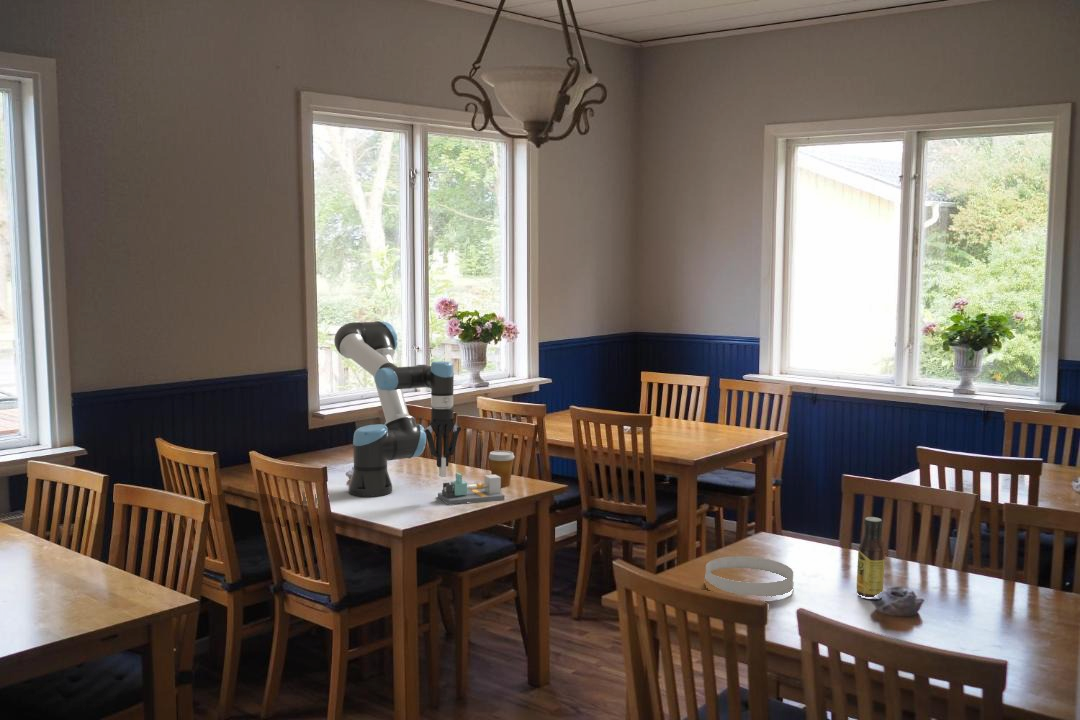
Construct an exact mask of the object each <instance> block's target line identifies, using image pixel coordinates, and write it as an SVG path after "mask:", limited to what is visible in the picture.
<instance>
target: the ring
mask: <svg viewBox="0 0 1080 720" xmlns="http://www.w3.org/2000/svg"><path fill="white" fill-rule="evenodd" d="M724 568H751V569H760V570H765V571H770V572H772V573H776V574H779V575H781V576H783V577H785V578H787V579H785V580H783V581H777V582H769V583H750V582H741V581H734V580H729V579H725V578H722V577H719V576H716V575H714V574H712V573H711V571H713V570H717V569H724ZM705 579H706V581H708V582H709V583H710V584H712V585H714V586H715V587H717V588H719V589H721V590H723V591H726V592H730V593H735V594H737V595H756V596H766V597H767V596H771V597H772V596H776V595H783V594H785V593H788V592H790V591H791V590H792V589H793V590H794V588H793V586H794V585H795V584H794V571H793V569H792V568H791V567H790V566H789V565H787V564H785V563H782V562H779V561H775V560H772V559H768V558H763V557H762V558H761V557H756V556H742V555H741V556H739V555H738V556H737V555H736V556H723V557H718V558H715V559H711V560H710V561H708V562H707V563H706V565H705V576H704V580H705ZM794 587H795V586H794Z"/></svg>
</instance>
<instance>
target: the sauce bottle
mask: <svg viewBox="0 0 1080 720" xmlns="http://www.w3.org/2000/svg"><path fill="white" fill-rule="evenodd" d="M863 522H864V525H865V526H864V533H863V537H862V539H861V542H860V544H859V546H858V549H857V572H856V573H857V574H856V594H857V593H858V594H859V595H862V596H865V597H874V596H875V595H877V594H879V593H880V592H882V591H883V592H884V582H885V581H884V580H885V578H884V577H885V562H886V561H885V559H886V558H885V551H886V549H885V548H886V547H885V544H884V541H883V540H882V539H881V536H882V533H881V531H882V525H883V520H882V518H879V517H875V516H867V517H865V518H864V521H863Z"/></svg>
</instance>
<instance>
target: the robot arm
mask: <svg viewBox="0 0 1080 720" xmlns="http://www.w3.org/2000/svg"><path fill="white" fill-rule="evenodd" d="M333 341H334V346H335V349H336V350H337V352H338V353H339V354H340V355H341V356H342V357H343V358H345V359H351V360H352V361H354V362H355V363H356V364H357V365H359V367H361V368H362V369H364V371H366V372H367V373H369V374H370V375H371V376H373V380H374V384H375V388H376V391H377V394H378V398H379V401H380V404H381V407H382V412H383V414H384V419H385V423H384V424H381V423H378V424H369V425H363V426H361V427H359V428H357V429H356V430H354V433H353V439H352V440H353V441H352V445H353V472H352V476H351V478H350V482H349V484H348V494H350V495H351V496H355V497H366V498H367V497H368V498H369V497H370V498H371V497H373V498H374V497H382V496H386V495H390V494H391V493H392V492H393V484H392V481H391V478H390V475H389V474H390V473H389V471H388V462H389V461H396V460H405V459H412V458H417V457H419V456H421V455H422V454H423V452H424V450H425V448H426V444H427V443H428V446H429V452H430V455H432V456H433V457H435V459H436V467H437V468H438V476H439V477H441V478H447V467H449V458H450V457H451V456H453V455H454V454H455V451H456V446H457V442H458V437H459V434H460V432H461V430H462V427H461V426H458V425H456V424H455V420H454V408H453V407H454V384H455V383H454V378H455V377H454V375H455V373H454V364H453V362H452V361H443V360H442V361H432V362H431V363H430V364H431V365H427V364H417V365H413V366H397V365H395V363H394V359H393V357H394V355H395V354H396V353H395V352H396V351H395V350H396V349H397V347H398V335H397V332H396V329H395V327H394V326H393V325H392V324H391V323H389V322H388V321H380V320H377V321H366V322H365V321H362V322H360V321H358V322H357V321H356V322H355V321H354V322H352V321H351V322H347V323H345V324H343V325H342V326H340V327H339V329H338V330H337V331H336V333H335V335H334V340H333ZM421 388H428V389H430V392H431V393H430V395H431V396H430V397H431V398H430V406H431V409H430V411H431V413H430V415H431V416H430V423H429V425H428V426H427V427H424V426H423V425H422V424H419V423H416V420H415V417H414V416H412V415H410V413H409V410H408V406H407V404H406V400H405V397H404V393H403V390H407V389H408V390H409V389H421ZM432 432H434V434H435V442H434V437H433V434H432ZM451 432H452V433H451ZM450 433H451V439H450ZM442 446H443V447H442ZM442 449H443V450H442Z"/></svg>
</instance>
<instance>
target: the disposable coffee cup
mask: <svg viewBox="0 0 1080 720" xmlns="http://www.w3.org/2000/svg"><path fill="white" fill-rule="evenodd" d="M488 459H489V465H490V472H491V474H490V475H497V476H499V477H501V488H506V487H505V486H507V487H509V485H511V478H512V472H513V471H512V470H513V464H514V459H515V455H514V452H512V451H510V450H509V451H508V450H493V451H490V452H489V455H488Z"/></svg>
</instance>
